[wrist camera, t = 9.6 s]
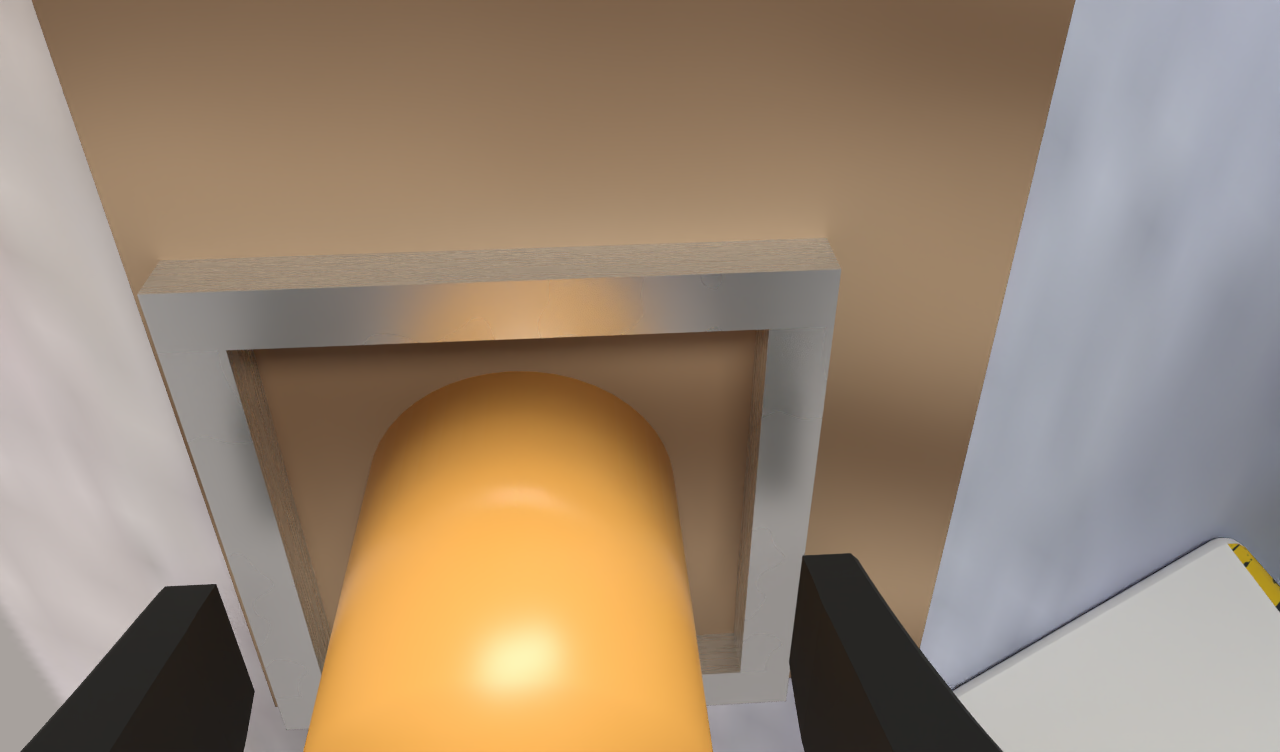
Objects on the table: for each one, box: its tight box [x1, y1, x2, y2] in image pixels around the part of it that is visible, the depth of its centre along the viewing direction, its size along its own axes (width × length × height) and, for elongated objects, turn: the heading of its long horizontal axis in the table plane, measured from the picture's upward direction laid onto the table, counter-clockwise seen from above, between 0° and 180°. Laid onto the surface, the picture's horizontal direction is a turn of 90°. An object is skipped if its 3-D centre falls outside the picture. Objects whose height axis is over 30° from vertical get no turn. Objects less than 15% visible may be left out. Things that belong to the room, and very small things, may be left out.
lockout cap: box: [303, 371, 713, 752], centre depth 12 cm, size 4×4×5 cm
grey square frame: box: [137, 238, 841, 730], centre depth 14 cm, size 8×8×1 cm
